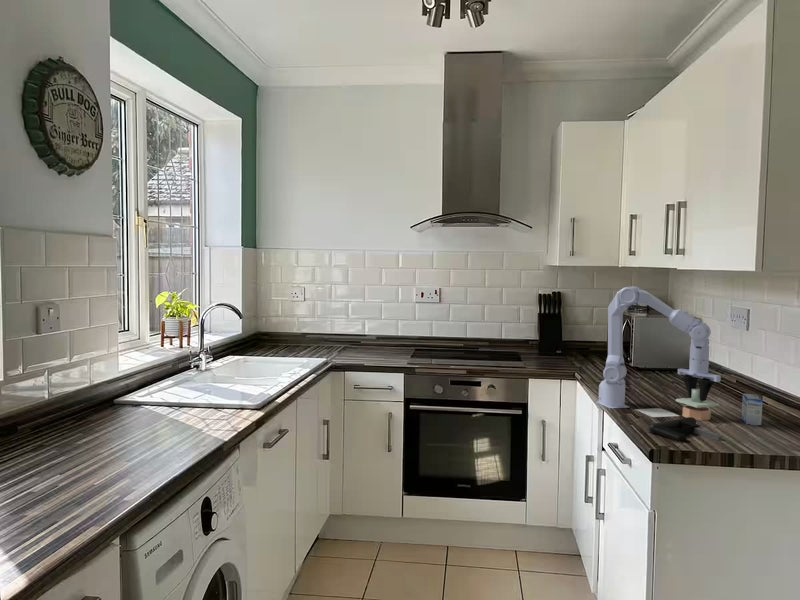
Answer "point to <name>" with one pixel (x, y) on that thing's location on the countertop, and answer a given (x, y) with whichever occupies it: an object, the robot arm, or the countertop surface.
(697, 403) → the lid
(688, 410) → the bowl
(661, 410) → the mat
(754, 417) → the medicine box
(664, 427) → the black dustpan
